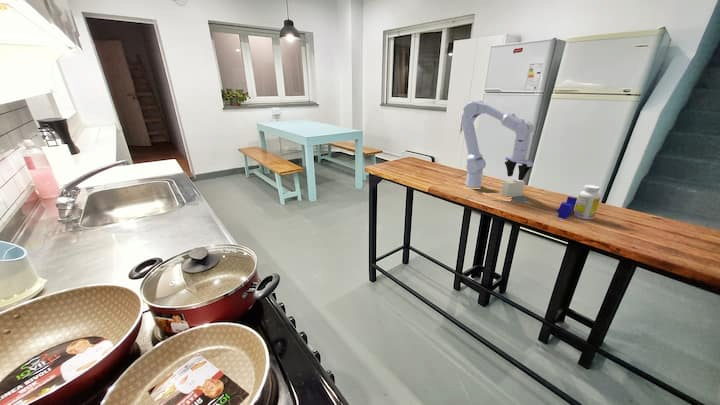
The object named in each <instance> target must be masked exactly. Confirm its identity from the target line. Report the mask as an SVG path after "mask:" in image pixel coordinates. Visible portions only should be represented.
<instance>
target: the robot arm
mask: <svg viewBox="0 0 720 405" xmlns="http://www.w3.org/2000/svg"><path fill="white" fill-rule="evenodd" d="M482 114H486V115H488V116H491V117H493V118H494V119H496V120H499V121H500V123H501V125H502V126H504V127H505V128H508V129H509V130H511V131H513V132H514V133H515V135H516V136H515V139H514V144H513V151H512V154H511V155H512V156H511V155H505V158H504V164H505V167H506V174H507V177H513V175H514V171H515V168H516V166H517V168H518V176H517V177H518V179H517V180H521V181H523V180H524V178H525V177H526V175H527V173H528V172H529V171H530V169H532V167H533V164H534V162H533V161H532V160H528V159H527V155H528V150H529V145H530V139H531V133H532V132H533V131H534V125H533V123H532V122H531V121H526V120H525V119H524V118H522V119H521V118H519V117H518V116H516V114H515V113H506V114H505V113H504V112H502V111H501V110H499V109H497V108H496V107H494V106H492V105H490V104H489V103H488V102H484V101H482V100H477V101H469V102H467V103H466V105H465V106H464V107H463V113H462V117H461V125H462V130H463V134H464V135H463V136H464V139H465V140H464V141H465V144H466V149H467V154H468V156H467V157H466V166H465V167H466V170H467V174H466V180H465V184H466V185H467V186H468V187H471V188H480V187H481V188H482V178H483V174H484V172H483V170H484V169H485V167H486V166H487V164H486V160H485V159H484V156H483V155H482V153H481V152H480V149H479V144H478V138H477V133H476V129H475V124H474V122H475V121H476V119H477V118H478V116H480V115H482ZM517 164H519V165H517Z"/></svg>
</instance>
